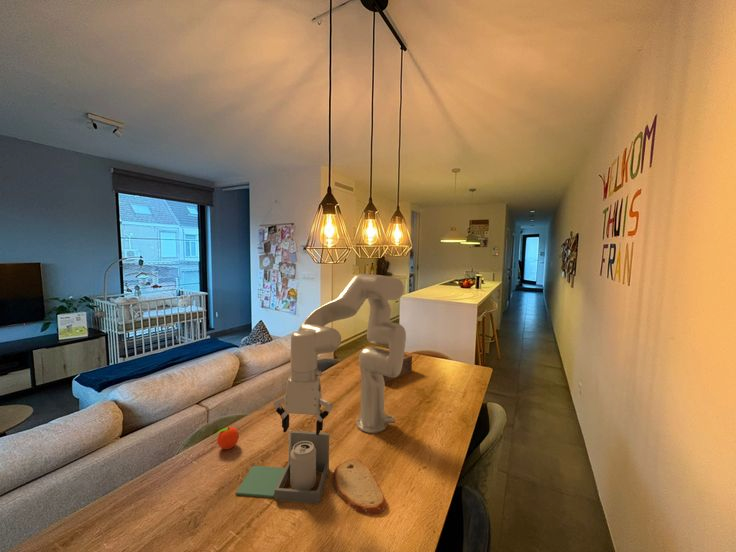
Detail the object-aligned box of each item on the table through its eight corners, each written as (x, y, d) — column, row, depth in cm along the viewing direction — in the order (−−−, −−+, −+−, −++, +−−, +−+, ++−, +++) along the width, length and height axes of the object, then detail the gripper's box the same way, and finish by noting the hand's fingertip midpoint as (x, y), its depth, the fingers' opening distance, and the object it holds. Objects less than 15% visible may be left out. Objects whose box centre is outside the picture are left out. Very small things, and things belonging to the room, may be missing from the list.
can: (320, 479, 93) (320, 441, 92) (307, 497, 86) (308, 457, 85) (299, 473, 95) (299, 436, 94) (285, 490, 88) (285, 451, 87)
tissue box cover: (393, 365, 188) (393, 349, 187) (411, 372, 178) (412, 356, 177) (362, 376, 171) (362, 359, 170) (380, 384, 160) (381, 366, 159)
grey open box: (328, 468, 97) (329, 430, 96) (319, 503, 84) (319, 459, 83) (290, 465, 98) (290, 427, 97) (274, 500, 84) (274, 455, 83)
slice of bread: (384, 519, 80) (385, 506, 79) (320, 505, 83) (320, 493, 83) (393, 471, 97) (393, 460, 97) (339, 462, 101) (339, 451, 101)
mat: (286, 469, 96) (286, 468, 96) (273, 497, 85) (273, 495, 85) (253, 467, 97) (253, 465, 97) (235, 494, 86) (235, 492, 86)
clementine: (213, 456, 102) (212, 436, 101) (214, 444, 108) (214, 425, 107) (239, 450, 105) (238, 431, 104) (238, 439, 111) (238, 420, 111)
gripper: (335, 370, 91) (333, 426, 92) (279, 367, 92) (278, 422, 93) (330, 381, 83) (328, 441, 84) (269, 377, 84) (268, 436, 85)
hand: (302, 431), depth 89 cm, fingers open, 9 cm apart
